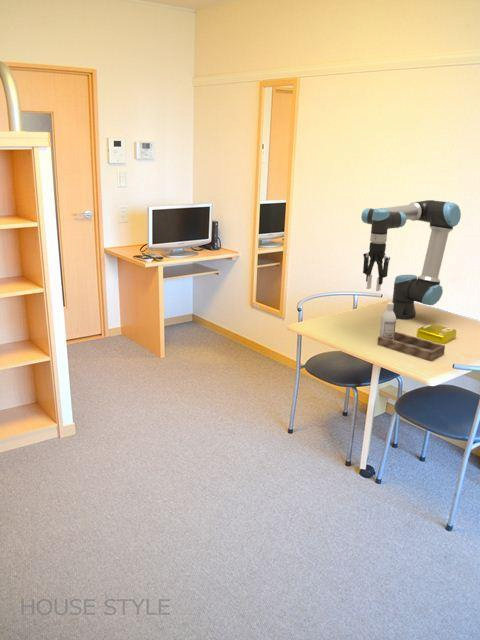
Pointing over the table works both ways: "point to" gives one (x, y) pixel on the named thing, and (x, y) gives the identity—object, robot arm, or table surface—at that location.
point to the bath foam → (388, 322)
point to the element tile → (436, 333)
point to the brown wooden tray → (413, 346)
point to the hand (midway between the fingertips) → (373, 289)
